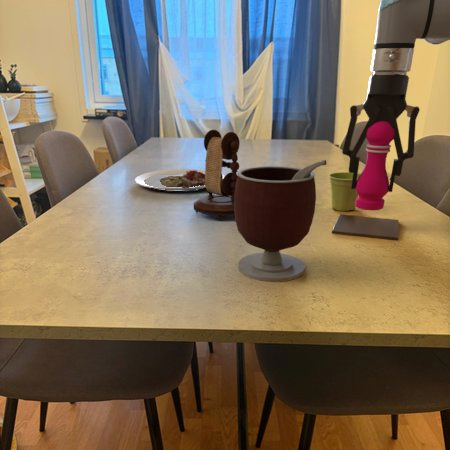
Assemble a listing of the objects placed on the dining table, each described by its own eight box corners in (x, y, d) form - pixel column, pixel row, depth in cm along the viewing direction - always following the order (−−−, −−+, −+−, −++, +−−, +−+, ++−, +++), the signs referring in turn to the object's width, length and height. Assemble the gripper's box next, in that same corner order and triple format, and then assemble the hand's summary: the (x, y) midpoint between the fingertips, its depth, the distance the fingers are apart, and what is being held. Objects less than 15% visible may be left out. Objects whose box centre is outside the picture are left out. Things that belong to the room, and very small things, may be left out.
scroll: (182, 212, 113) (178, 130, 104) (225, 202, 121) (225, 126, 112) (218, 225, 103) (217, 136, 94) (262, 213, 111) (265, 131, 102)
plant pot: (323, 211, 113) (326, 177, 109) (327, 202, 121) (330, 171, 117) (360, 214, 110) (365, 180, 106) (362, 205, 118) (366, 173, 114)
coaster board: (398, 222, 105) (398, 219, 104) (397, 240, 93) (397, 237, 93) (339, 216, 109) (339, 214, 109) (331, 233, 97) (331, 230, 97)
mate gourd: (219, 271, 78) (217, 157, 69) (257, 249, 88) (260, 146, 79) (297, 292, 70) (307, 166, 61) (329, 265, 81) (342, 153, 71)
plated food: (118, 190, 134) (116, 179, 133) (159, 172, 160) (158, 163, 158) (209, 197, 126) (208, 186, 125) (237, 177, 152) (237, 167, 150)
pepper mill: (357, 201, 103) (370, 110, 94) (388, 205, 100) (405, 111, 91) (348, 208, 98) (361, 112, 88) (381, 212, 94) (398, 113, 85)
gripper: (336, 73, 86) (324, 189, 97) (446, 73, 80) (420, 196, 91) (340, 74, 92) (328, 182, 103) (443, 73, 86) (419, 189, 97)
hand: (371, 188), depth 97 cm, fingers closed on pepper mill, 7 cm apart
